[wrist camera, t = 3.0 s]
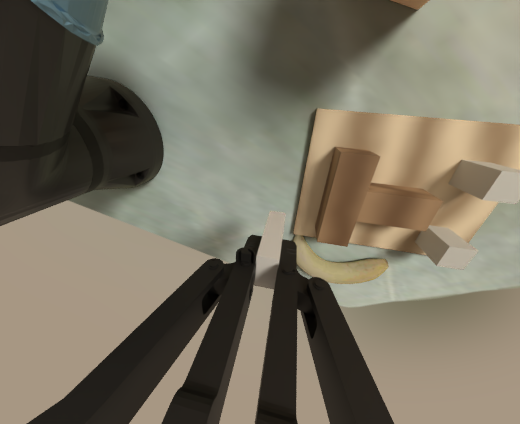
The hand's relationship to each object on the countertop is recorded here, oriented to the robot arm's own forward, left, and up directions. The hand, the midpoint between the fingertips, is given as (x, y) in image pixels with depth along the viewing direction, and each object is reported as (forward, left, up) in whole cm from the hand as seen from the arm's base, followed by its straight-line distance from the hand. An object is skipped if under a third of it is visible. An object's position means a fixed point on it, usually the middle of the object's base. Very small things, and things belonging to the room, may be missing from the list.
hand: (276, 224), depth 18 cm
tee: (+12, 0, -11) cm, 16 cm away
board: (+15, +1, -12) cm, 19 cm away
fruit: (+11, -11, -12) cm, 20 cm away
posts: (+22, 0, -11) cm, 24 cm away
